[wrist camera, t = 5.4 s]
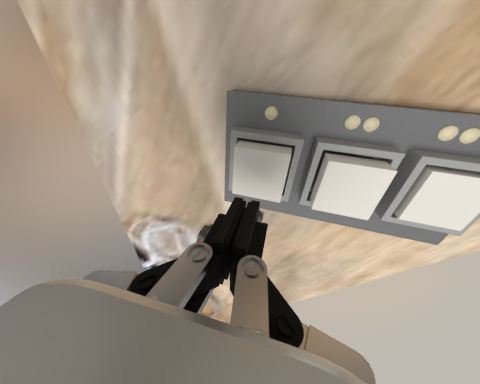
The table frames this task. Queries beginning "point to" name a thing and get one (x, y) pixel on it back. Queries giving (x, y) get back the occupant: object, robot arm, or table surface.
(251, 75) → the table surface
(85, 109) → the table surface
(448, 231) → the button panel
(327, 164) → the button
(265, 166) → the button
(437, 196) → the button
